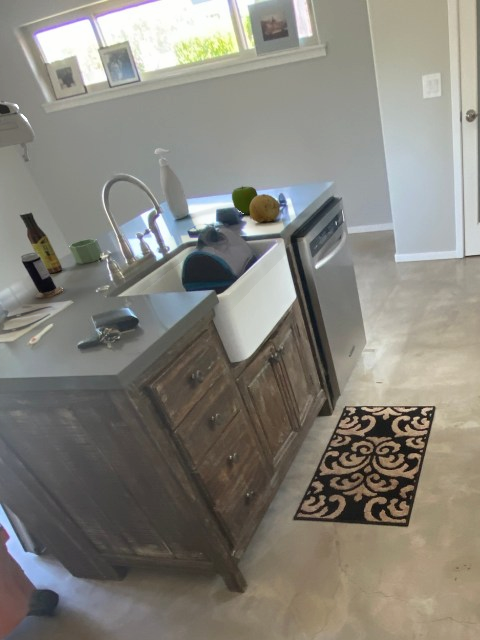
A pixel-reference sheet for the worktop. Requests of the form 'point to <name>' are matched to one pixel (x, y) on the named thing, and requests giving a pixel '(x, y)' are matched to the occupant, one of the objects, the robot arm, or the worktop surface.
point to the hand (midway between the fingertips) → (12, 163)
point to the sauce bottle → (41, 244)
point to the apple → (243, 198)
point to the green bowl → (86, 251)
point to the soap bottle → (172, 188)
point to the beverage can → (38, 273)
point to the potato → (264, 208)
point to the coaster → (57, 291)
